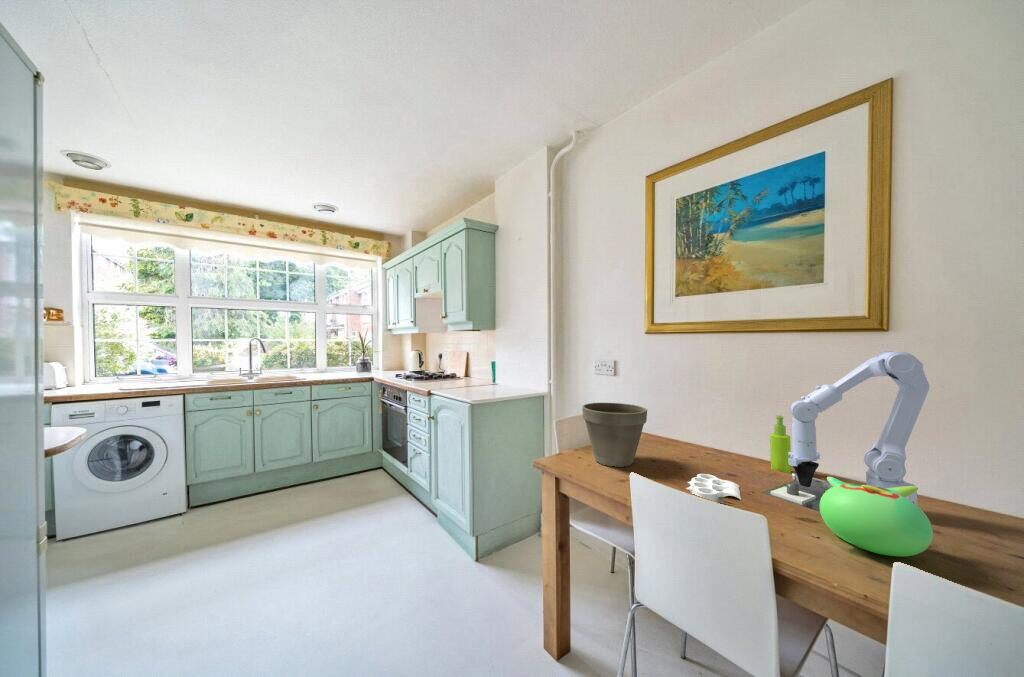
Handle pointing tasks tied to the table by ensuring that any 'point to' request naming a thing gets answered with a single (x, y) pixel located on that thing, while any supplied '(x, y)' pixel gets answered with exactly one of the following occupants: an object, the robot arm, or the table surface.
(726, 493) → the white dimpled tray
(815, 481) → the t key
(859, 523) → the toy bird
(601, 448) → the plant pot
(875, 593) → the table surface
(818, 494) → the panel
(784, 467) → the soap dispenser
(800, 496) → the cover
